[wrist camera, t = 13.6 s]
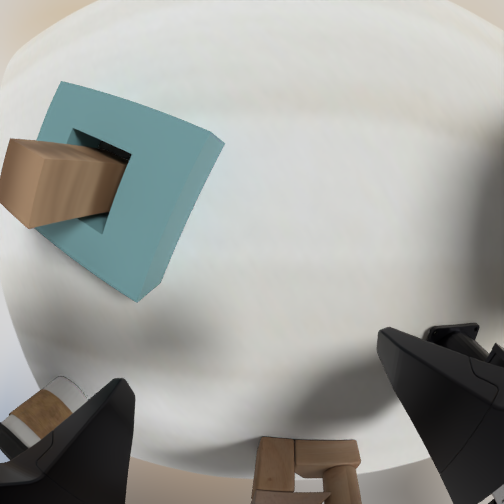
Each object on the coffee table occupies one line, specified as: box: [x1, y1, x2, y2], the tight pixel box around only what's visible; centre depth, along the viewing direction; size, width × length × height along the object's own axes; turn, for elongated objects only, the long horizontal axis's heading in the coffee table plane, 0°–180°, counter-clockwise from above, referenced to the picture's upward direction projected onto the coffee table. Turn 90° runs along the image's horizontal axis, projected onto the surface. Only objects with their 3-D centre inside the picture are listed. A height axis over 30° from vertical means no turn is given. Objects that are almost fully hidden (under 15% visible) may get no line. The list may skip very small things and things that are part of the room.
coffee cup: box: [0, 377, 88, 460], centre depth 18 cm, size 8×8×15 cm
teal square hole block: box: [35, 81, 225, 302], centre depth 17 cm, size 14×12×4 cm
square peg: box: [0, 138, 129, 229], centre depth 14 cm, size 4×4×10 cm
